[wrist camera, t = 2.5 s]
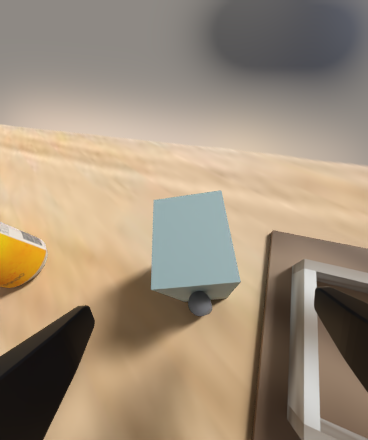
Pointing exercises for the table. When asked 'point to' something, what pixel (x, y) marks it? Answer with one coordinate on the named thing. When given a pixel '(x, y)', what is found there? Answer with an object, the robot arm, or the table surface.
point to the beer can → (19, 256)
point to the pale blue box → (193, 250)
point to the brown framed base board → (307, 345)
